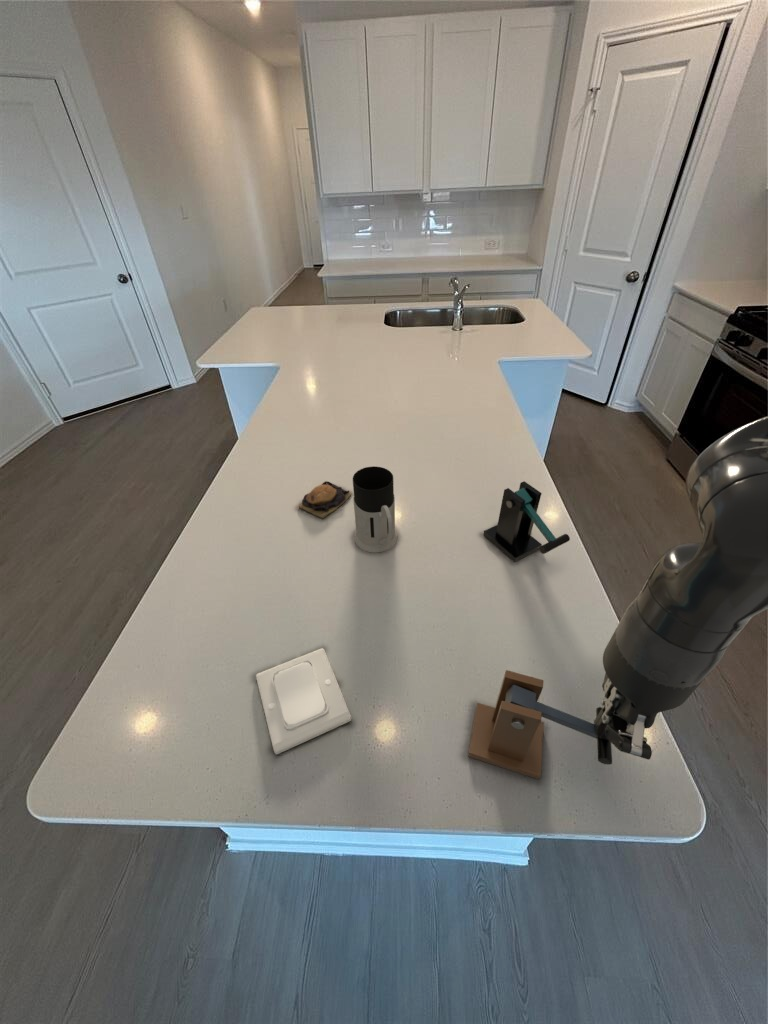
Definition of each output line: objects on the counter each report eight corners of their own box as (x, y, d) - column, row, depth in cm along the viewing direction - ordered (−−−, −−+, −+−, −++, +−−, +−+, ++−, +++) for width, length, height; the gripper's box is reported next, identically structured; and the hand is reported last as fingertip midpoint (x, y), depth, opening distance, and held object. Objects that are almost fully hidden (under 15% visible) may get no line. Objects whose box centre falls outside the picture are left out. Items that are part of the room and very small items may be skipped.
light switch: (320, 636, 68) (349, 707, 59) (324, 652, 71) (352, 722, 61) (251, 663, 65) (269, 742, 56) (257, 679, 68) (276, 757, 58)
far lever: (565, 543, 79) (572, 537, 77) (541, 556, 77) (548, 550, 75) (525, 491, 84) (531, 484, 82) (501, 501, 81) (507, 495, 79)
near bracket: (541, 726, 60) (564, 677, 52) (538, 779, 55) (563, 735, 47) (476, 706, 63) (487, 657, 55) (467, 756, 58) (479, 710, 49)
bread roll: (324, 521, 94) (322, 508, 92) (295, 507, 98) (293, 494, 96) (354, 495, 101) (353, 482, 99) (326, 483, 105) (325, 470, 102)
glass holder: (389, 519, 94) (387, 460, 85) (413, 565, 84) (414, 504, 74) (349, 528, 92) (343, 469, 83) (369, 576, 82) (365, 516, 72)
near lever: (603, 716, 54) (613, 708, 52) (605, 767, 49) (617, 760, 48) (507, 678, 55) (514, 670, 54) (502, 725, 51) (509, 717, 49)
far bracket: (540, 548, 86) (555, 497, 78) (514, 562, 84) (526, 511, 76) (508, 523, 92) (519, 473, 84) (483, 535, 90) (491, 485, 82)
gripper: (728, 732, 34) (646, 806, 45) (694, 599, 43) (633, 688, 54) (621, 702, 35) (568, 781, 47) (612, 582, 45) (569, 671, 56)
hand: (603, 731), depth 50 cm, fingers closed
